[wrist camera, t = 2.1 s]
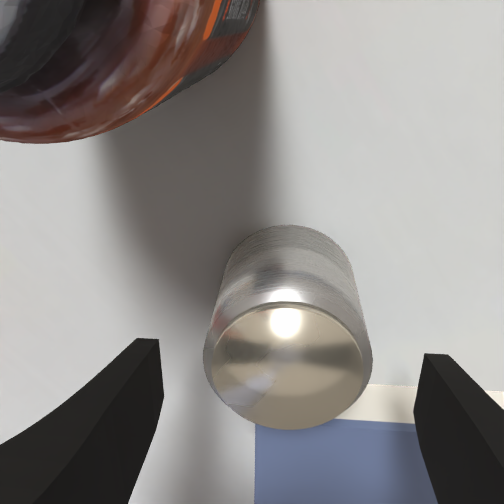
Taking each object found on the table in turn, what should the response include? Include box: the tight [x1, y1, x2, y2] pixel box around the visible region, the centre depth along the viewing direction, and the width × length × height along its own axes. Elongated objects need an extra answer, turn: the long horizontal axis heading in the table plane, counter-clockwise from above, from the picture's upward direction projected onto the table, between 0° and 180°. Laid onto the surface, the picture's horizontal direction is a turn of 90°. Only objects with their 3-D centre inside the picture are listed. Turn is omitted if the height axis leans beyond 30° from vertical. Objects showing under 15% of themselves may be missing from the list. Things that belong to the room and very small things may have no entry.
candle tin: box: [203, 225, 373, 430], centre depth 16 cm, size 5×5×5 cm
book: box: [254, 384, 504, 504], centre depth 20 cm, size 10×14×3 cm
